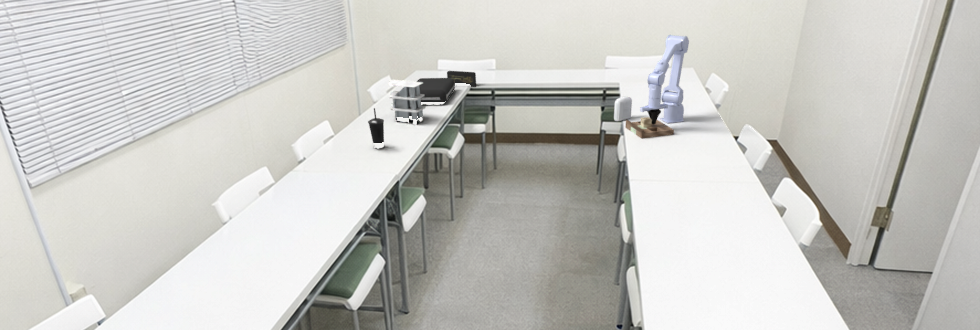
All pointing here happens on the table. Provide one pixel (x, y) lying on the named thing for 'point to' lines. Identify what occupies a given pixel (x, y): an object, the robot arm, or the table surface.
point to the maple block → (646, 122)
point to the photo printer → (622, 108)
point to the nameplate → (463, 77)
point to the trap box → (649, 129)
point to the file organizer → (407, 99)
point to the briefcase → (436, 89)
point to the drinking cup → (377, 129)
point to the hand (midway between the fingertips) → (653, 123)
